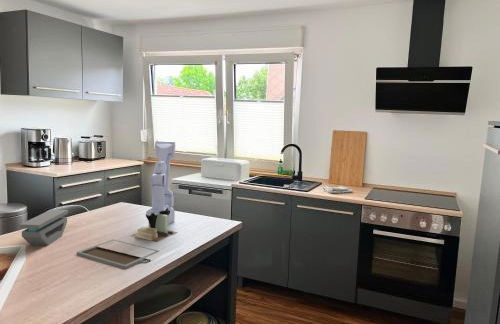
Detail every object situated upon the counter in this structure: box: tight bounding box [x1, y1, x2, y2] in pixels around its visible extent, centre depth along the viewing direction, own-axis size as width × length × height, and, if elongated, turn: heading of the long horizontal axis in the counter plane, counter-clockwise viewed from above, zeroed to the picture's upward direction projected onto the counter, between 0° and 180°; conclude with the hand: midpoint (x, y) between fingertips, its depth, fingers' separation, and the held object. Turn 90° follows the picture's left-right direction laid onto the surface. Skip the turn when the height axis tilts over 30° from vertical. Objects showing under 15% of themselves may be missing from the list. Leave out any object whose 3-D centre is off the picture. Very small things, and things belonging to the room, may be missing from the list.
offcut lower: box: [134, 231, 158, 241], centre depth 175 cm, size 5×9×2 cm, turn 64°
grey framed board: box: [75, 239, 160, 270], centre depth 156 cm, size 19×2×30 cm
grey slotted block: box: [19, 208, 69, 246], centre depth 169 cm, size 25×8×11 cm, turn 0°
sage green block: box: [148, 213, 169, 233], centre depth 182 cm, size 2×10×9 cm, turn 64°
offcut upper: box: [137, 226, 157, 235], centre depth 174 cm, size 4×8×2 cm, turn 70°
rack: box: [129, 229, 179, 243], centre depth 180 cm, size 16×16×2 cm
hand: (158, 226), depth 182 cm, fingers open, 7 cm apart
